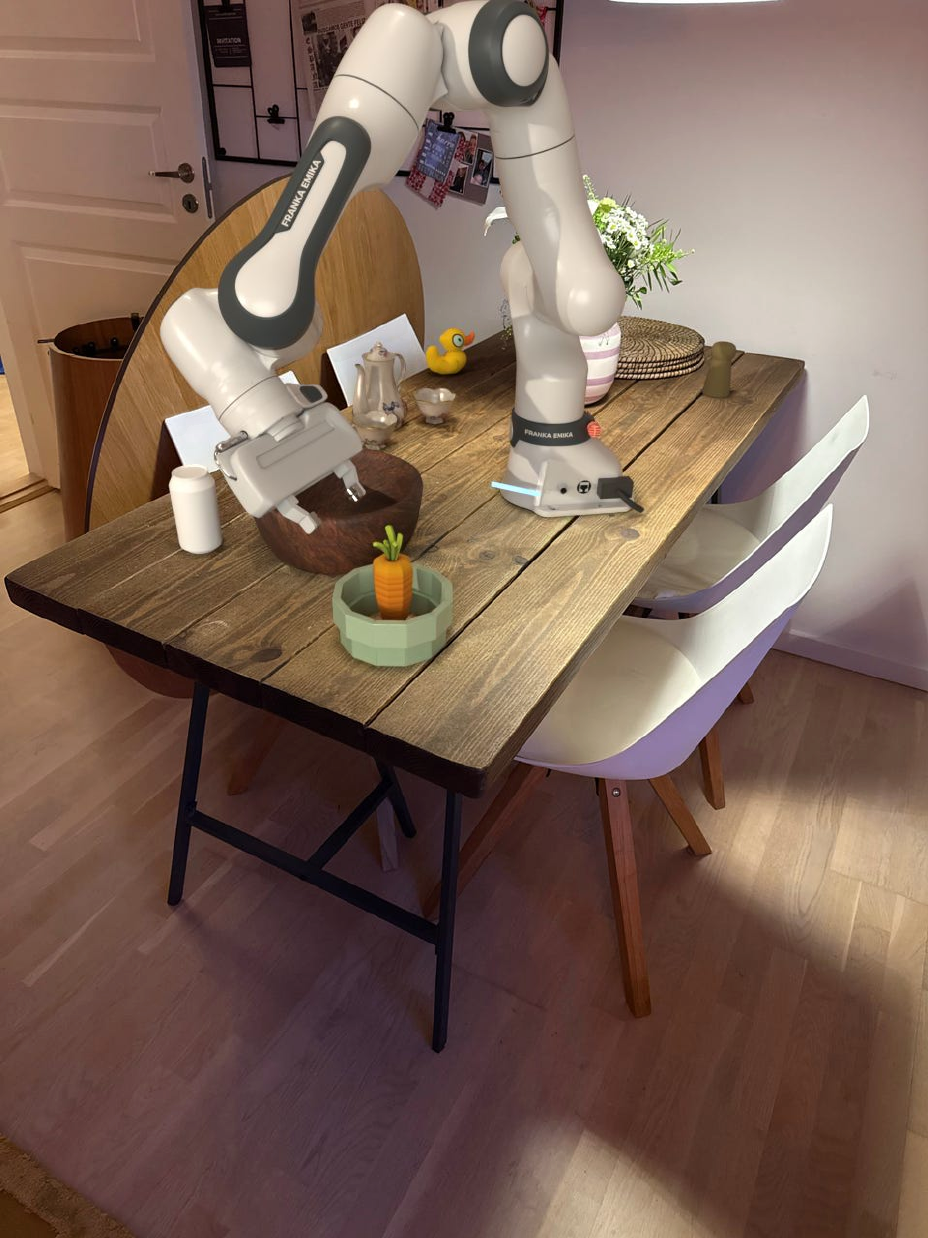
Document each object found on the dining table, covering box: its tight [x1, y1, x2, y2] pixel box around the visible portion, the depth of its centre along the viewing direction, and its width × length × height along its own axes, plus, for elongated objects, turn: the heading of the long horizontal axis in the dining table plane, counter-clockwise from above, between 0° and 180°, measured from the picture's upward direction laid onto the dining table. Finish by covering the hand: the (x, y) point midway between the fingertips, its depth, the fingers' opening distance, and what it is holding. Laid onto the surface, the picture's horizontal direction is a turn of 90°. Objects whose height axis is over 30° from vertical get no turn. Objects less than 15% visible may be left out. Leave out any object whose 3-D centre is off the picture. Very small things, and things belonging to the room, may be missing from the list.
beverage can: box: [168, 464, 224, 555], centre depth 125 cm, size 6×6×12 cm
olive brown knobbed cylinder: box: [701, 340, 737, 398], centre depth 189 cm, size 6×6×11 cm
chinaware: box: [350, 340, 458, 451], centre depth 165 cm, size 28×17×17 cm, turn 148°
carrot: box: [373, 525, 413, 620], centre depth 106 cm, size 5×5×15 cm
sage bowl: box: [331, 561, 454, 667], centre depth 109 cm, size 15×15×7 cm
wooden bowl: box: [253, 447, 424, 576], centre depth 127 cm, size 25×25×10 cm
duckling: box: [425, 327, 476, 375], centre depth 195 cm, size 11×5×10 cm, turn 111°
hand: (338, 513), depth 105 cm, fingers open, 8 cm apart
